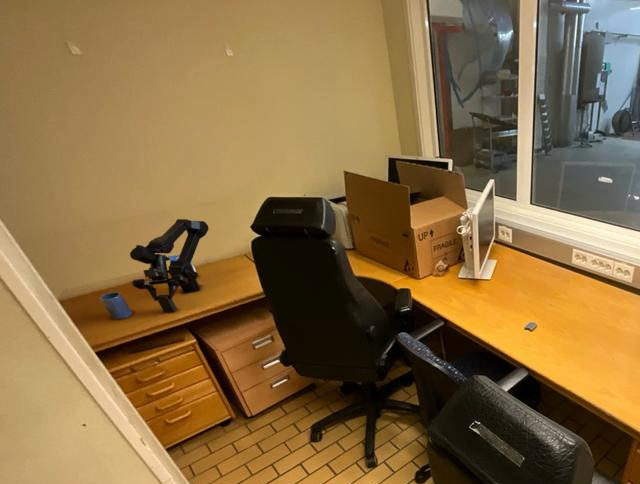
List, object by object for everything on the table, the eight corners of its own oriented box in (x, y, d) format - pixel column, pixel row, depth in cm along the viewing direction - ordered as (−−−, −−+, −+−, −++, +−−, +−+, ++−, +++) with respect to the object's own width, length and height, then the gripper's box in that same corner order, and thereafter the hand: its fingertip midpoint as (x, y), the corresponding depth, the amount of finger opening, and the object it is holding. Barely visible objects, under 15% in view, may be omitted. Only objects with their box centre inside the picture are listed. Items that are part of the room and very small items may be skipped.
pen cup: (133, 310, 180) (121, 290, 174) (130, 317, 175) (118, 297, 169) (114, 313, 177) (101, 294, 171) (110, 320, 172) (97, 301, 166)
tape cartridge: (177, 281, 203) (166, 259, 196) (178, 278, 206) (167, 256, 199) (197, 277, 207) (187, 256, 200) (198, 275, 210) (188, 253, 203)
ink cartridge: (178, 309, 180) (170, 294, 176) (174, 312, 179) (166, 297, 174) (167, 309, 180) (159, 294, 176) (163, 312, 179) (155, 296, 174)
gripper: (121, 263, 166) (126, 297, 164) (173, 257, 172) (178, 291, 170) (138, 272, 177) (142, 305, 175) (186, 267, 182) (190, 298, 180)
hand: (163, 299), depth 175 cm, fingers closed on ink cartridge, 5 cm apart
